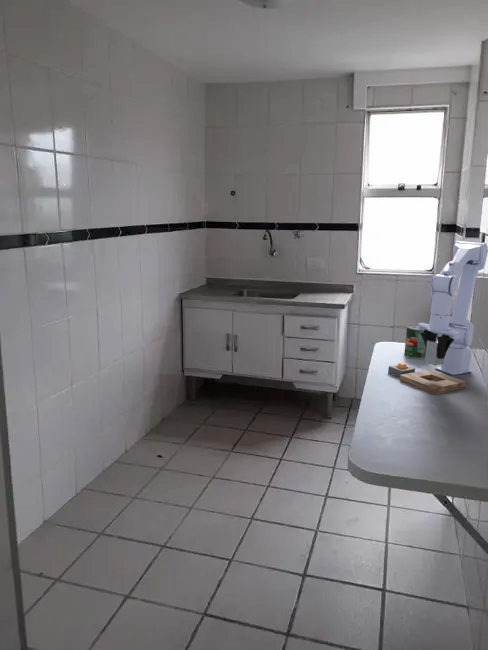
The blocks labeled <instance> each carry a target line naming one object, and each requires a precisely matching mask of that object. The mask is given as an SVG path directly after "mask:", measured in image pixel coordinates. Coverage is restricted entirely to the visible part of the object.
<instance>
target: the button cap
mask: <svg viewBox="0 0 488 650" xmlns="http://www.w3.org/2000/svg"><path fill="white" fill-rule="evenodd" d="M407 364H408V363H405V362H398V363H397V365H398V368H400V369H406V367H407V366H408V365H407Z"/></svg>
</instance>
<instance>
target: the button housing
mask: <svg viewBox="0 0 488 650" xmlns="http://www.w3.org/2000/svg"><path fill="white" fill-rule="evenodd" d="M413 372H416V368H414V367H411V366H409V365H407V367H406V369H400V368H398V364H393V365H388V371H387V373H388V374H389V375H392V376H394V377H397V378H399V377H400V375H402V374H408V373H413Z"/></svg>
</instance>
